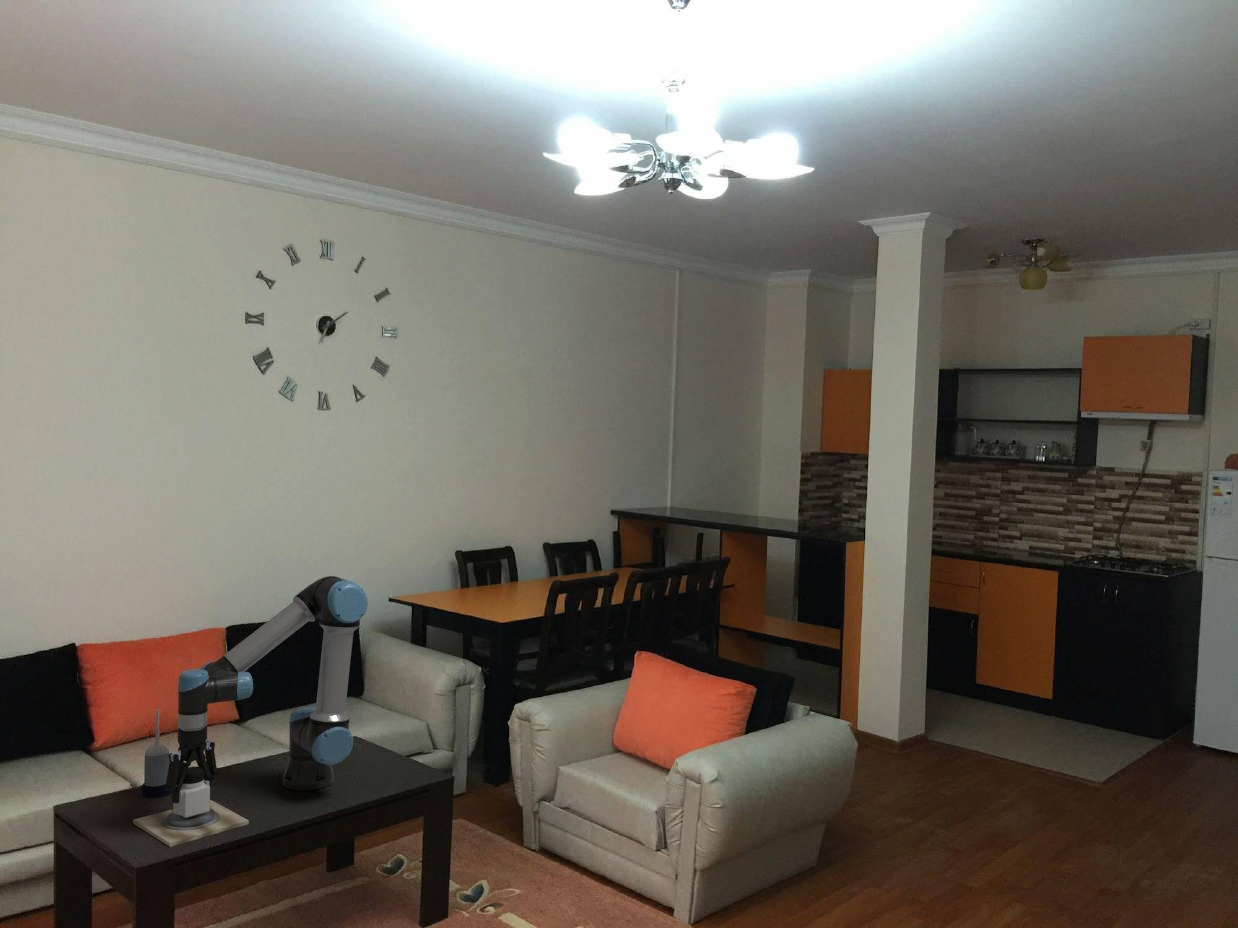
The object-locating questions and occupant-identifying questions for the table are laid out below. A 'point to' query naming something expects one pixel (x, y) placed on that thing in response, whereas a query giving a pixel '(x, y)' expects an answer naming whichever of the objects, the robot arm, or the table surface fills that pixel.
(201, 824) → the square wooden board
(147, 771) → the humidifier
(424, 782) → the table surface
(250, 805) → the table surface
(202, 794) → the medicine bottle
